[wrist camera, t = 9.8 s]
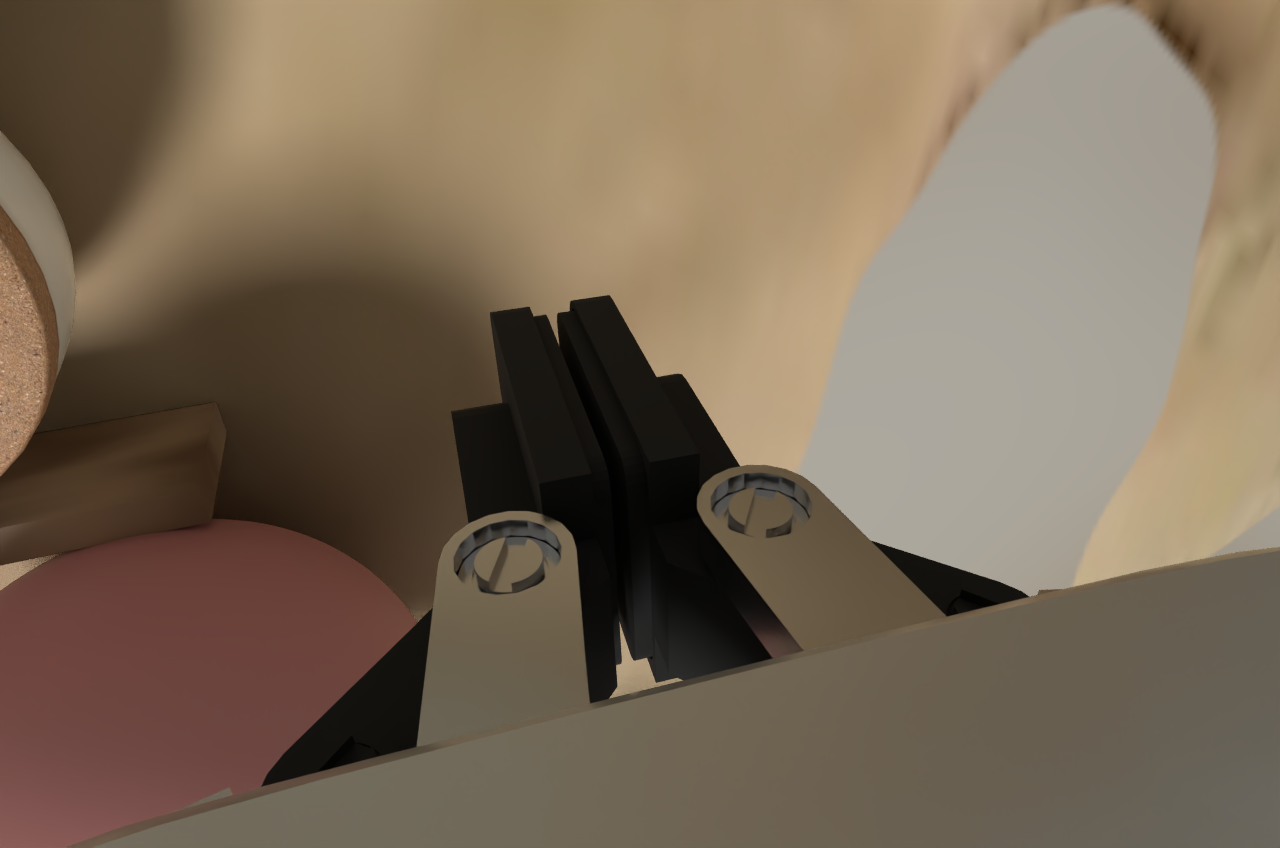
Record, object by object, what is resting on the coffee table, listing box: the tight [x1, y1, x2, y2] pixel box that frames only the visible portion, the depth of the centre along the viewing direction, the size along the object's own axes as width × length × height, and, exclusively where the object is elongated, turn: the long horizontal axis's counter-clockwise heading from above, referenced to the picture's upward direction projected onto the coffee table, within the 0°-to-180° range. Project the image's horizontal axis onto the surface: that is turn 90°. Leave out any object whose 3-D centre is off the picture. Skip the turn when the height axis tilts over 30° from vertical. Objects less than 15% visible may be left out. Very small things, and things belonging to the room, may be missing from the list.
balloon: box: [0, 519, 417, 848], centre depth 27 cm, size 15×20×15 cm
